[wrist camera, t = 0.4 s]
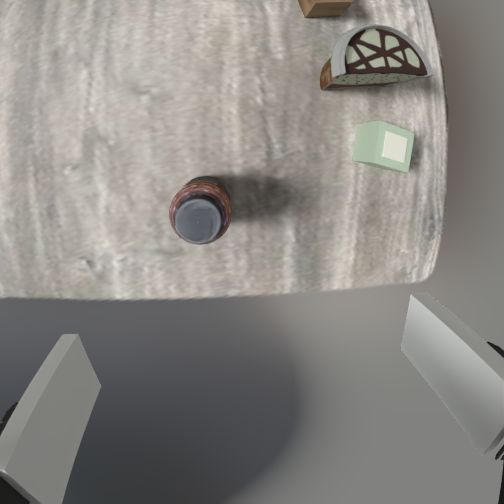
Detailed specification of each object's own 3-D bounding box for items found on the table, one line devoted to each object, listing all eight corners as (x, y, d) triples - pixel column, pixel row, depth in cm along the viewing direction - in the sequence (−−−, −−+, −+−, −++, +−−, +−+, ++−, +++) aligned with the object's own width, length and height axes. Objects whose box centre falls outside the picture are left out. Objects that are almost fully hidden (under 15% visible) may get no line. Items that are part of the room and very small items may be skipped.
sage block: (357, 123, 35) (380, 120, 29) (389, 134, 35) (415, 133, 30) (351, 160, 36) (374, 162, 30) (383, 169, 37) (408, 173, 31)
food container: (382, 47, 31) (423, 26, 22) (392, 87, 33) (437, 75, 24) (299, 47, 31) (324, 17, 21) (310, 91, 33) (340, 73, 23)
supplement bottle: (173, 185, 35) (152, 200, 24) (220, 168, 35) (219, 175, 24) (189, 231, 37) (178, 263, 26) (235, 215, 37) (242, 241, 26)
